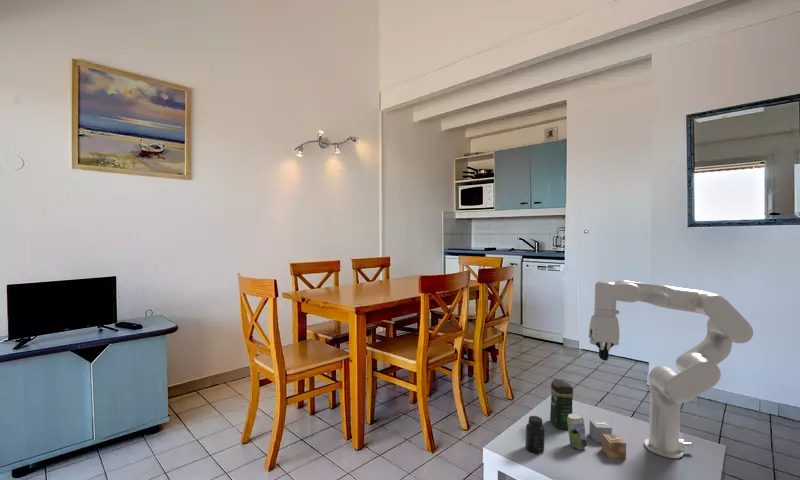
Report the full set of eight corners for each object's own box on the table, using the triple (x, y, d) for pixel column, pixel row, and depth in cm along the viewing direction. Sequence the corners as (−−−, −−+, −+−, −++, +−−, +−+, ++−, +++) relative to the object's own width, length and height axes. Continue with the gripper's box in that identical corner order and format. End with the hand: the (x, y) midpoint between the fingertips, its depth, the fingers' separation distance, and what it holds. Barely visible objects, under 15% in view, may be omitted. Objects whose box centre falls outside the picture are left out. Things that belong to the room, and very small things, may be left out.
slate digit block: (604, 435, 158) (604, 420, 158) (611, 443, 152) (611, 427, 152) (589, 434, 159) (589, 419, 158) (595, 442, 153) (596, 426, 152)
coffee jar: (575, 430, 161) (576, 386, 161) (556, 430, 161) (557, 386, 161) (565, 419, 171) (566, 377, 171) (547, 418, 171) (548, 377, 171)
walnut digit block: (617, 450, 147) (618, 434, 147) (625, 459, 141) (626, 442, 141) (601, 449, 148) (602, 433, 147) (608, 458, 142) (609, 441, 141)
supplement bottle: (521, 445, 149) (522, 414, 149) (537, 443, 150) (538, 413, 150) (531, 455, 142) (532, 423, 142) (548, 453, 144) (548, 422, 143)
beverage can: (588, 452, 145) (589, 420, 145) (568, 449, 147) (569, 418, 147) (584, 443, 152) (585, 412, 151) (564, 440, 153) (565, 410, 153)
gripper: (619, 311, 155) (618, 357, 155) (581, 310, 156) (580, 355, 156) (629, 315, 147) (628, 363, 148) (589, 314, 148) (588, 361, 148)
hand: (603, 359), depth 152 cm, fingers closed
